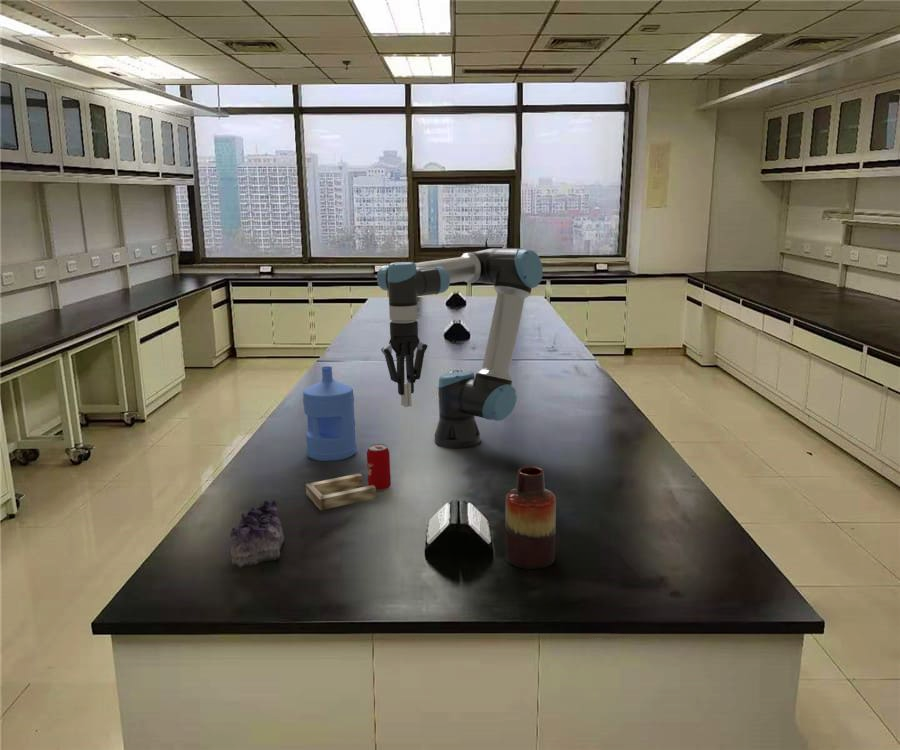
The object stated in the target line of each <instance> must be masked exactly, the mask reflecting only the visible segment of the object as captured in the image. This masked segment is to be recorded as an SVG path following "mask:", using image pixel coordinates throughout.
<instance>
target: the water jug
mask: <svg viewBox="0 0 900 750" xmlns="http://www.w3.org/2000/svg"><path fill="white" fill-rule="evenodd" d="M332 369H333V366H328V365H327V366H321V370H322V372H321V376H322V379H321V381H319V382H316V383H315V384H312V385H311V386H309V387H307V388H305V389H304V390H303V392H302V403H303V412H304V414H305V415H306V417H307V432H306V433H305V441H306V443H305V444H306V446H305V447H306V455H307V457H308V458H310V459H311V460H314V461H320V462H335V461H342V460H345V459H348V458H351V457H352V456H353V455H355V454H356V453H357V443H356V442H357V441H356V419H355V405H354V403H355V395H354V390H353V387H352V386H350V385H348V384H345V383H343V382H340V381H338V380H334V379H333V371H332Z"/></svg>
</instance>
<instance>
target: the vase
mask: <svg viewBox="0 0 900 750" xmlns="http://www.w3.org/2000/svg"><path fill="white" fill-rule="evenodd" d="M544 473H545V472H544V470H543V468H540V467H538V466H524V467H520V468H519V469H518V471H517V480H516V481H517V482H516V488H515V487H514V488H512V489H511V490H509V491H508V492H507V493H506V495H505V559H507V560H508V561H507V560H506V561H507V563H509V562H510V563H511V564H513V565H514V566H513V565H512V566H513V567H515V566H517V567H516V568H518V567H519V568H518V569H522V568H525V569H524V570H530V569H535V570H540V569H539V568H542V569H546V568H548V567H550V566H551V565H552V564H553V563H554V562H555V559H556V514H557V513H556V511H557V505H556V504H557V498H556V497H557V496H555V494H554V493H553V492H552V491H551V490H549V489H547V488H545V474H544ZM510 563H509V564H510ZM511 564H510V565H511ZM549 565H550V566H549ZM547 566H548V567H547ZM545 567H546V568H545Z"/></svg>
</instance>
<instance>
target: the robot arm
mask: <svg viewBox="0 0 900 750" xmlns="http://www.w3.org/2000/svg"><path fill="white" fill-rule="evenodd" d="M543 268H544V267H543V263H542V261H541V258H540V256H539V255H538V253H537V252H536V251H534V250H532V249H526V248H506V247H505V248H502V247H492V248H487V249H481V250H478V251H477V250H476V251H472V252H471V251H470V252H465V253H463V254H462V255H461V256H459V257H452V258H451V257H450V258H445V259H443V258H442V259H435V260H429V261H427V260H426V261H420V262H412V261H406V262H405V261H401V262H399V261H398V262H395V261H394V262H391V263H390V264H385V265H383V266H381V267H380V268H379V269H378V271H377V274H376V281H377V286H379V288H380V289H382V290H383V291H386V292H388V305H389V306H388V309H389V311H388V312H389V320H390V322H389V335H390V336H389V337H390V338H389V340H388V341H389V342H388V345H386V346H385V347H382V348H381V350H380V351H381V352H382V354H383V355H384V357H385V362H386V366H387V369H388V372H389V377H390V381H392V382H394V383H396V384H397V393H398V395H399V396H400V401H401V402H400V403H401V404H400V405H401V406H403V407H405V408H408V407H412V406H413V405H412V402H413V401H412V394H414V393H415V383H416V381H417V380H420V379H421V376H422V375H421V374H422V368H423V362H424V358H425V352H426V351H427V349H428V344H426V343H423V342H421V341H420V338H419V335H418V334H419V324H418V321H417V319H418V316H419V315H418V297H424V296H430V295H431V296H433V295H435V296H437V295H439V294H443V293H446V291H447V290H448V289H449V287H450V284H455V283H460V282H465V283H467V284H474V283H479V284H480V283H481V284H489V285H493V289H494V290H495V292H496V293H497V296H496V299H495V305H494V309H493V314H492V320H491V324H490V329H489V333H488V338H487V343H486V347H485V352H484V356H483V357H484V358H483V363H482V367H481V368H480V369H479V370H478V371H476V372H475V373H474V371H471V370H470V371H469V370H463V371H454V372H453V371H452V372H448V373H444V374H442V375H440V377H439V379H438V388H437V390H438V411H439V413H438V415H439V416H438V417H439V420H438V422H437V425H436V429H435V432H434V443H435V445H437V446H440V447H444V448H448V449H449V448H451V449H464V448H465V449H466V448H469V447H474V446H476V445H478V444H480V442H481V432H480V429H479V427H478V423H477V420H476V417H479V418H482V419H485V420H488V421H496V422H497V421H498V422H499V421H502V420H505V419H506V418H507V417H508V416H509V415H511V413H512V412H513V410H514V409H515V407H516V403H517V396H518V395H517V391H516V389H515V387H514V386H513V378H512V377H511V376H510V369H511V364H512V360H513V355H514V352H515V351H514V350H515V347H516V341H517V336H518V332H519V327H520V322H521V318H522V312H523V307H524V303H525V300H526V299H527V298H528V297H530V296H531V293H532V289H534V288H536V287H538V286H539V285H540V283H541V282H542V279H543V273H544V271H543V270H544V269H543ZM393 351H394V353H395V358H396V363H395V360H394V357H393V355H392V354H393ZM415 352H416V354H415ZM414 357H415V359H414ZM395 364H396V365H395ZM405 371H406V373H405ZM405 374H406V375H405ZM405 376H406V379H405Z"/></svg>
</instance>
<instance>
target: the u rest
mask: <svg viewBox="0 0 900 750" xmlns="http://www.w3.org/2000/svg"><path fill="white" fill-rule="evenodd" d="M305 490H306V491H305V494H306V496H308V498H309V499H310V501H312V502H313V503H314V505H315V506H316V507H317V508H318V509H319V510H320V511H323V510H324V511H325V510H328V509H333V508H337V507H340V506H346V505H350V504H355V503H360V502H365V501H368V500H373V499H376V498H377V491H376V487H375V486H374V485H370V486H368V485H367V486H363V475H362V474H361V473H354V474H349V475H345V476H339V477H335V478H329V479H324V480H321V481H320V480H319V481H314V482H310V483H305Z"/></svg>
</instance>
